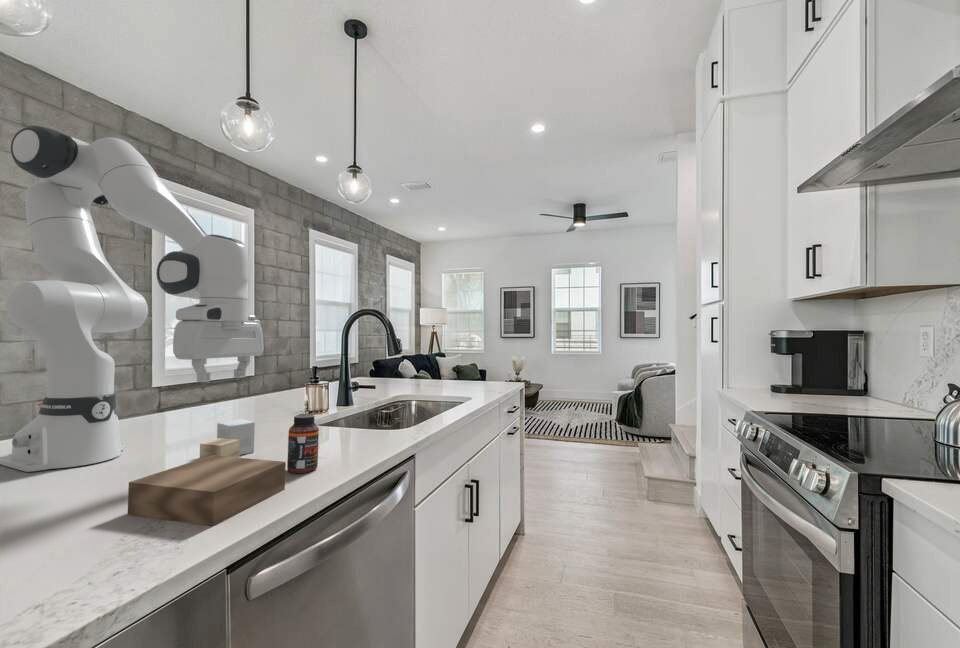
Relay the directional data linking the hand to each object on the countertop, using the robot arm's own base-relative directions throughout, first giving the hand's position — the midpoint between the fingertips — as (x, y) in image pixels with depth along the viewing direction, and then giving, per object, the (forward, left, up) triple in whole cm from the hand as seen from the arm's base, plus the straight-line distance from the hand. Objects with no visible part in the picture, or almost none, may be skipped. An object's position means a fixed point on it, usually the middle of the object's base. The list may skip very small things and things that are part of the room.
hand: (222, 379), depth 91 cm
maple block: (0, 0, -19) cm, 19 cm away
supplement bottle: (+16, +5, -19) cm, 25 cm away
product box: (-7, +12, -19) cm, 24 cm away
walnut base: (+12, -14, -19) cm, 26 cm away
